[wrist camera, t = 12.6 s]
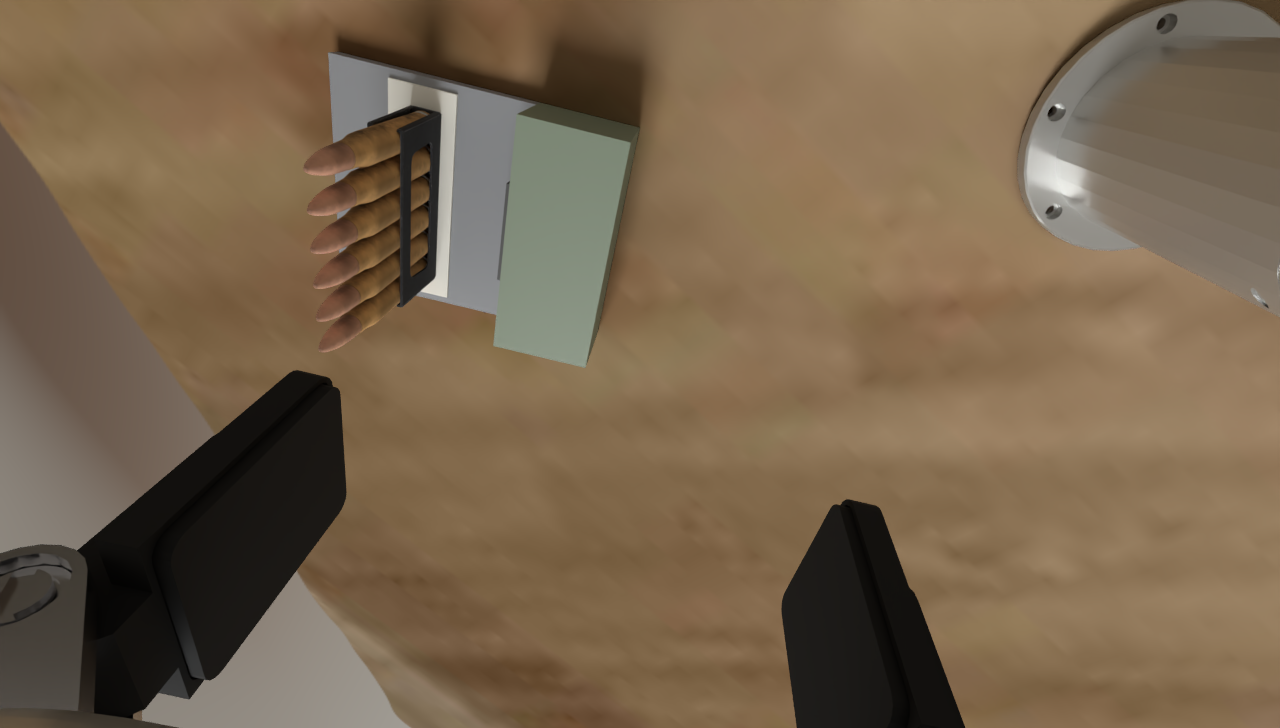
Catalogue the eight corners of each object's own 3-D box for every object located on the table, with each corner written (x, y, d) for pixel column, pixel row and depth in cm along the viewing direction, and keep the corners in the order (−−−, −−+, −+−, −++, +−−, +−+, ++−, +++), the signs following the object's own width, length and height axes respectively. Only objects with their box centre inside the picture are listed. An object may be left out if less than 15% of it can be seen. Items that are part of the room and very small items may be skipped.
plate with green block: (639, 127, 34) (630, 142, 30) (597, 332, 41) (585, 367, 37) (337, 51, 34) (284, 55, 29) (348, 272, 41) (306, 301, 36)
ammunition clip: (435, 279, 39) (340, 371, 29) (408, 272, 39) (303, 362, 29) (441, 112, 34) (326, 151, 23) (410, 104, 34) (280, 140, 23)
